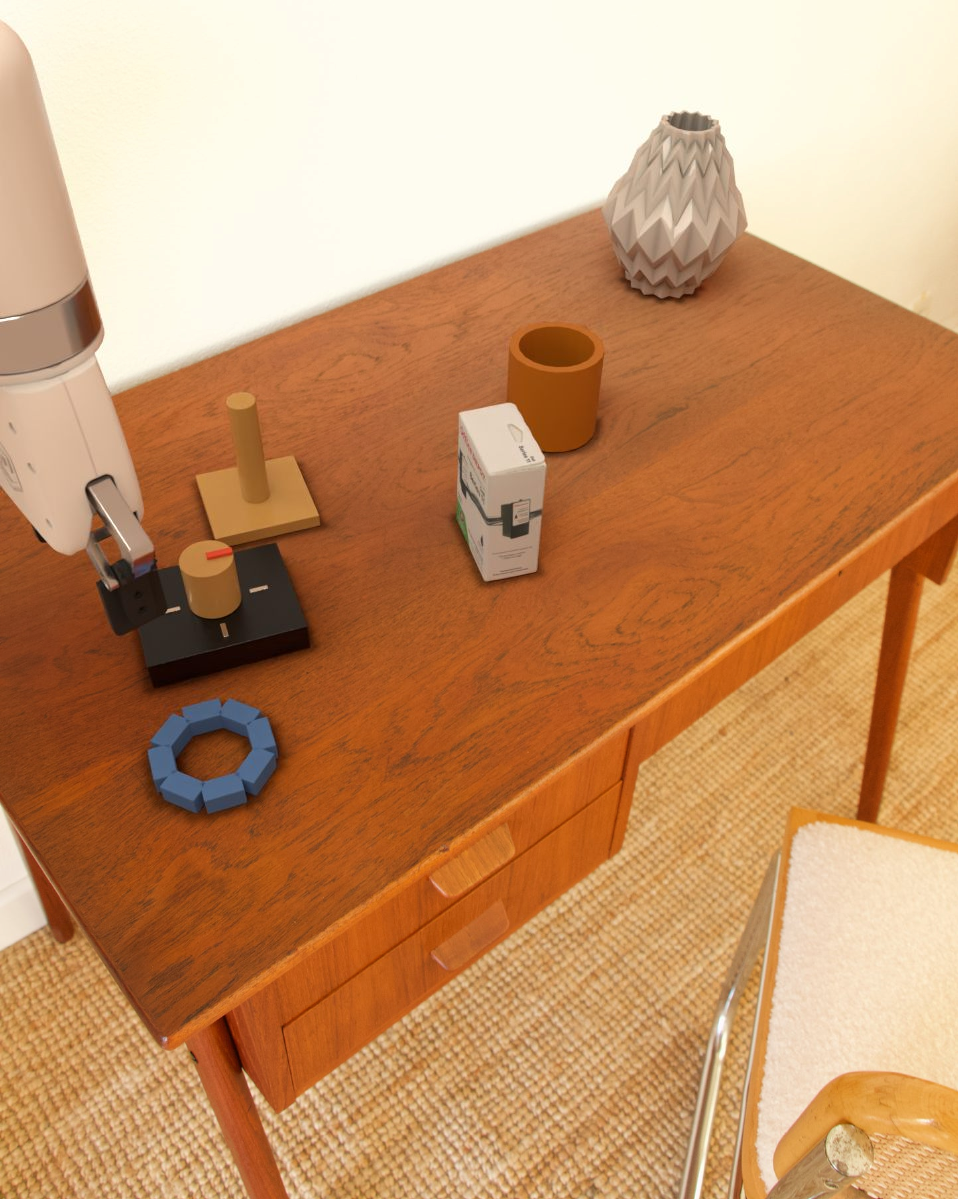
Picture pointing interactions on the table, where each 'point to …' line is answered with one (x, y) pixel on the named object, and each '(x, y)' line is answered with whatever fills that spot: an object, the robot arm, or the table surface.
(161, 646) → the black dial base plate
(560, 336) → the mug
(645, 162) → the vase
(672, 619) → the table surface
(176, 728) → the segmented ring
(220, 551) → the rotary dial knob
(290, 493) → the wooden peg stand
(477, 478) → the ink box
